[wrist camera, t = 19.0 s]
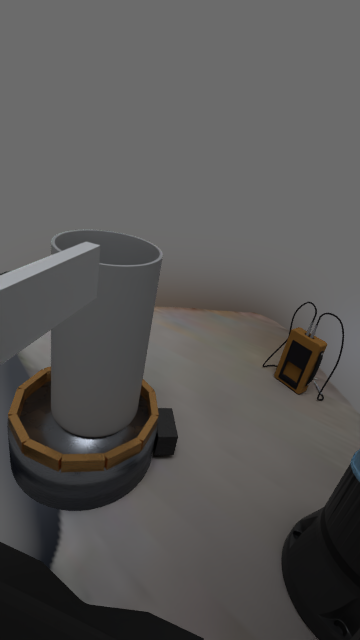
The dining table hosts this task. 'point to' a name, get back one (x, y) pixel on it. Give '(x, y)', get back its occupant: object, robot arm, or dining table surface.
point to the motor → (82, 450)
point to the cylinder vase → (105, 336)
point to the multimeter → (302, 357)
